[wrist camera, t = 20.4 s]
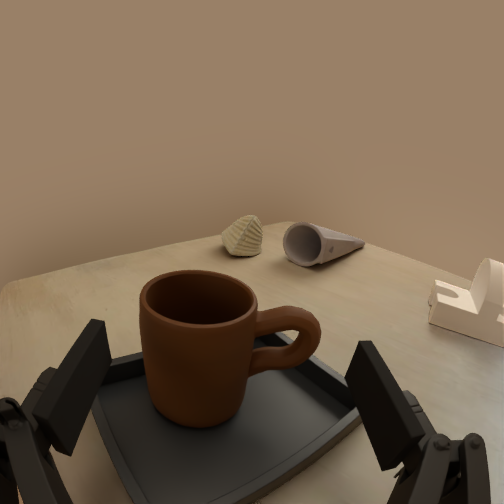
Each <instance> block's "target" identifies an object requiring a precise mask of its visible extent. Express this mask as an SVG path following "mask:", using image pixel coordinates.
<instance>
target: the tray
mask: <svg viewBox="0 0 504 504" xmlns="http://www.w3.org/2000/svg"><path fill="white" fill-rule="evenodd" d="M292 342H294V341H293V340H292V339H290V338H289V337H287V336H286V335H285V334H283V333H282V332H277V333H272V334H268V335H263V336H259V337H256V338H255V339H254V345H253V350H254V349H257V348H261V347H283V346H287V345H289V344H291V343H292ZM91 410H92V413H93V415H94V418H95V421H96V424H97V426H98V429H99V431H100V434H101V437H102V439H103V441H104V444H105V446H106V449H107V451H108V453H109V455H110V458H111V460H112V462H113V464H114V466H115V468H116V470H117V472H118V474H119V477H120V479H121V480H122V482H123V484H124V486H125V488H126V490H127V492H128V494H129V496H130V497H131V499H132V501H133V503H134V504H251V503H253V502H255V501H257V500H258V499H260V498H262V497H263V496H265V495H267V494H268V493H270V492H272V491H273V490H275V489H276V488H278V487H279V486H281V485H282V484H284V483H285V482H287V481H288V480H290V479H291V478H293V477H294V476H296V475H297V474H299V473H300V472H301V471H303V470H304V469H306V468H307V467H308V466H310V465H311V464H312V463H314V462H315V461H316V460H318V459H319V458H320V457H321V456H323V455H324V454H325V453H326V452H328V451H329V450H330V449H331V448H333V447H334V446H335V445H336V444H337V443H339V442H340V441H341V440H342V439H343V438H344V437H346V436H347V435H348V434H349V433H350V432H351V431H352V430H353V429H355V428H356V427H357V426H358V425H359V424H360V423H361V422H362V420H361V417H360V415H359V412H358V410H357V407H356V405H355V403H354V400H353V398H352V395H351V393H350V391H349V388H348V386H347V383H346V381H345V379H344V377H343V376H342V375H340V374H339V373H338V372H336V371H335V370H333V369H332V368H330V367H329V366H328V365H326V364H325V363H323V362H322V361H321V360H319V359H318V358H316V357H315V356H314V355H311V356H310V358H308V359H307V360H306V361H305V362H303V363H301V364H300V365H298V366H295V367H293V368H290V369H285V370H267V371H264V372H263V373H258V374H256V375H253V376H251V377H249V378H248V379H247V385H246V391H245V396H244V399H243V402H242V404H241V406H240V408H239V410H238V411H237V412H236V414H235V415H233V416H232V417H231V418H230V419H228V420H227V421H225V422H223V423H221V424H218V425H215V426H211V427H204V428H194V427H187V426H183V425H180V424H177V423H175V422H173V421H171V420H169V419H168V418H166V417H165V416H163V415H162V414H161V413H160V412H159V411H158V410H157V409H156V407H155V406H154V404H153V402H152V400H151V398H150V394H149V390H148V385H147V378H146V372H145V366H144V360H143V352H139V353H135V354H131V355H127V356H123V357H119V358H114V359H112V363H111V365H110V367H109V369H108V371H107V373H106V375H105V377H104V380H103V382H102V384H101V386H100V388H99V391H98V393H97V395H96V397H95V399H94V402H93V404H92V406H91Z"/></svg>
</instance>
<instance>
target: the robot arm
mask: <svg viewBox="0 0 504 504" xmlns="http://www.w3.org/2000/svg"><path fill="white" fill-rule="evenodd" d="M111 363H112V358H111V354H110V349H109V344H108V339H107V333H106V327H105V321H102V320H96V319H91V320H90V322H89V323H88V324H87V326H86V327H85V329H84V330H83V331H82V333H81V334H80V336H79V337H78V339H77V340H76V342H75V343H74V345H73V346H72V347H71V349H70V350H69V352H68V353H67V355H66V357H65V358H64V360H63V361H62V363H61V364H60V366H59V367H58V369H55V368H52V367H49V368H48V369H46V370H45V371H43V372H42V373H41V375H40V376H39V378H38V379H37V382H35V384H34V385H33V388H32V389H31V390H30V392H29V393H28V395H27V397H26V398H25V400H24V401H23V403H22V405H21V406H20V405H19V404H18V402H17V401H16V400H15V399H13V398H10V397H6V398H2V399H0V504H19V499H18V490H17V486H18V489H19V492H20V495H21V497H22V500H23V503H24V504H73V502H72V500H71V498H70V496H69V494H68V492H67V490H66V488H65V486H64V484H63V481H62V479H61V477H60V475H59V472H58V470H57V467H56V465H55V462H54V460H53V457H52V455H51V453H50V451H49V449H50V446H51V444H52V446H53V447H54V449H55V450H56V451H58V452H60V453H63V454H65V455H68V456H71V455H72V453H73V450H74V448H75V445H76V442H77V440H78V437H79V435H80V432H81V430H82V428H83V425H84V423H85V420H86V418H87V416H88V413H89V411H90V409H91V406H92V404H93V402H94V399H95V397H96V395H97V393H98V391H99V388H100V386H101V384H102V382H103V380H104V377H105V375H106V373H107V371H108V369H109V367H110V365H111ZM344 379H345V381H346V383H347V386H348V388H349V391H350V393H351V395H352V398H353V400H354V403H355V405H356V407H357V410H358V412H359V415H360V417H361V420H362V422H363V424H364V427H365V429H366V432H367V434H368V437H369V439H370V442H371V444H372V447H373V449H374V452H375V455H376V457H377V460H378V462H379V465H380V467H381V470H382V471H385V470H389V469H393V468H396V467H397V466H398V465H399V464H400V463H401V462H403V464H404V467H403V468H402V469H401V470H400V471H399V472H398V473H397V474H396V475H395V476H394V478H396V477H397V476H398V475H399V477H398V479H397V482H396V484H395V486H394V489H393V491H392V493H391V495H390V498H389V500H388V502H387V504H491V496H490V481H489V471H488V462H487V455H486V448H485V443H484V440H483V438H482V437H481V436H480V435H478V434H476V433H470V434H468V435H467V436H466V437H465V438H464V439H463V440H450V439H449V438H448V437H447V436H445V435H443V434H437V433H436V431H435V430H434V428H433V426H432V424H431V423H430V421H429V419H428V417H427V416H426V414H425V412H423V409H422V407H421V406H420V404H419V402H418V401H417V399H416V397H415V396H414V395H413V394H411V393H410V392H409V391H408V390H407V391H402V390H401V389H400V387H399V385H398V384H397V382H396V380H395V379H394V377H393V375H392V374H391V372H390V370H389V369H388V367H387V365H386V364H385V362H384V360H383V359H382V357H381V355H380V354H379V352H378V351H377V349H376V347H375V346H374V344H373V343H372V341H359V342H358V345H357V347H356V350H355V353H354V355H353V358H352V360H351V363H350V365H349V368H348V370H347V372H346V375H345V377H344ZM460 473H461V476H460Z"/></svg>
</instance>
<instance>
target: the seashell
mask: <svg viewBox="0 0 504 504" xmlns="http://www.w3.org/2000/svg"><path fill="white" fill-rule="evenodd" d="M262 233H263V230H262V226H261V223H260V221H259V220H258V218H257V217H256V216H253V215H250V216H244V217H242V218H239V219H238V220H237V221H235V222H234V223H233V224H232V225H231V226H229V227H228V228H227V229H225V230H224V231H223V232H222V241H223V243H224V245H225V247H226V249H227V250H228V252H229V253H230V254H231V255H236V256H254V255H257V254H259V253H260V252H261V244H262V238H263V237H262V236H263V234H262Z"/></svg>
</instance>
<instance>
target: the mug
mask: <svg viewBox="0 0 504 504" xmlns="http://www.w3.org/2000/svg"><path fill="white" fill-rule="evenodd" d="M257 307H258V303H257V298H256V296H255V294H254V292H253V290H252V289H251V288H250V287H249V286H247V285H246V284H245V283H243V282H242V281H240V280H238V279H236V278H233V277H231V276H228V275H225V274H221V273H217V272H211V271H203V270H181V271H174V272H169V273H165V274H162V275H159V276H157V277H155V278H153V279H152V280H150V281H149V282H148V283H146V285H145V286H144V287H143V289H142V291H141V293H140V313H139V324H140V335H141V344H142V352H143V360H144V366H145V372H146V378H147V385H148V390H149V394H150V398H151V400H152V402H153V404H154V406H155V407H156V409H157V410H158V411H159V412H160V413H161V414H162V415H163V416H165V417H166V418H168V419H169V420H171V421H173V422H175V423H177V424H180V425H183V426H187V427H194V428H204V427H211V426H215V425H218V424H221V423H223V422H225V421H227V420H228V419H230V418H231V417H232V416H233V415H235V414H236V412H237V411H238V410H239V408H240V406H241V404H242V402H243V399H244V396H245V391H246V385H247V379H248V378H249V377H251V376H253V375H256V374H258V373H263V372H264V371H267V370H285V369H290V368H293V367H295V366H298V365H300V364H301V363H303V362H305V361H306V360H307V359H308V358H310V356H311V355H312V354H313V353H314V352H315V351H316V349H317V347H318V345H319V343H320V338H321V329H320V324H319V322H318V321H317V319H316V318H315V317H314V315H313V314H312V313H311V312H308V311H306V310H304V309H302V308H298V307H294V306H282V307H278V308H273V309H269V310H265V311H257ZM286 330H296V331H299V334H298V336H297V338H296V339H295V341H294V342H292V343H291V344H289V345H287V346H283V347H261V348H257V349H254V350H253V345H254V339H255V338H256V337H259V336H263V335H268V334H272V333H277V332H282V331H286Z"/></svg>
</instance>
